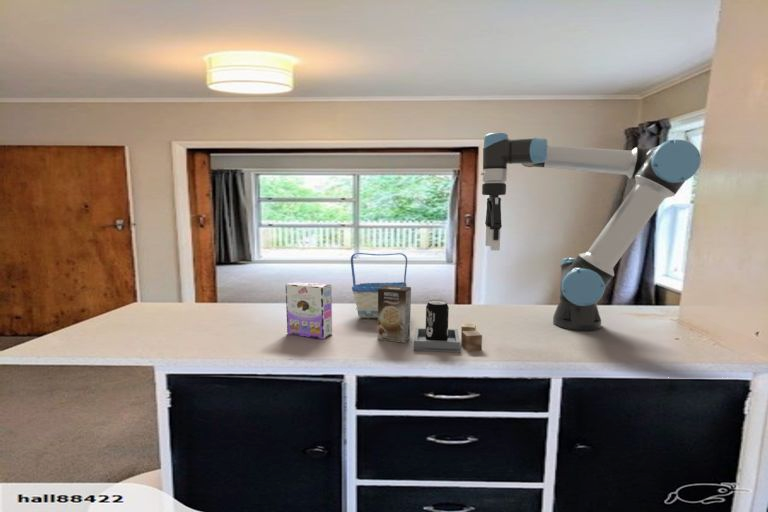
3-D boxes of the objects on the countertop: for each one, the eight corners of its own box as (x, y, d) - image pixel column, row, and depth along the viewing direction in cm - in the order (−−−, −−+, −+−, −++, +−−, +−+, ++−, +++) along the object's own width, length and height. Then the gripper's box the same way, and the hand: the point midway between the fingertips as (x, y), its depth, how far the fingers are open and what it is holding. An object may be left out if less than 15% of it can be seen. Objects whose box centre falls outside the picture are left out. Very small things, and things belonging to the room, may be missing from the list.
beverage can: (446, 345, 128) (448, 304, 126) (424, 343, 129) (425, 303, 127) (448, 338, 134) (449, 299, 133) (426, 337, 135) (427, 298, 134)
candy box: (333, 334, 141) (332, 283, 138) (323, 340, 135) (322, 287, 133) (297, 329, 146) (296, 280, 144) (286, 334, 141) (284, 283, 139)
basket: (409, 312, 169) (410, 251, 166) (401, 323, 153) (402, 256, 150) (357, 309, 174) (357, 249, 171) (344, 320, 158) (343, 254, 155)
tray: (457, 337, 137) (457, 329, 137) (459, 352, 124) (460, 342, 124) (415, 336, 139) (415, 327, 138) (413, 350, 126) (413, 340, 125)
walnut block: (476, 345, 131) (476, 330, 130) (481, 350, 126) (482, 335, 126) (461, 346, 130) (461, 331, 129) (466, 351, 126) (466, 335, 125)
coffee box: (376, 339, 135) (376, 288, 133) (383, 333, 141) (383, 284, 139) (405, 343, 132) (405, 290, 130) (411, 336, 138) (411, 286, 136)
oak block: (475, 336, 139) (476, 324, 139) (474, 340, 135) (474, 327, 135) (462, 335, 140) (463, 323, 140) (461, 339, 137) (461, 326, 136)
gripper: (478, 184, 156) (476, 244, 159) (487, 181, 131) (485, 252, 134) (500, 184, 155) (498, 244, 158) (513, 181, 131) (510, 252, 133)
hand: (492, 248), depth 146 cm, fingers open, 13 cm apart
